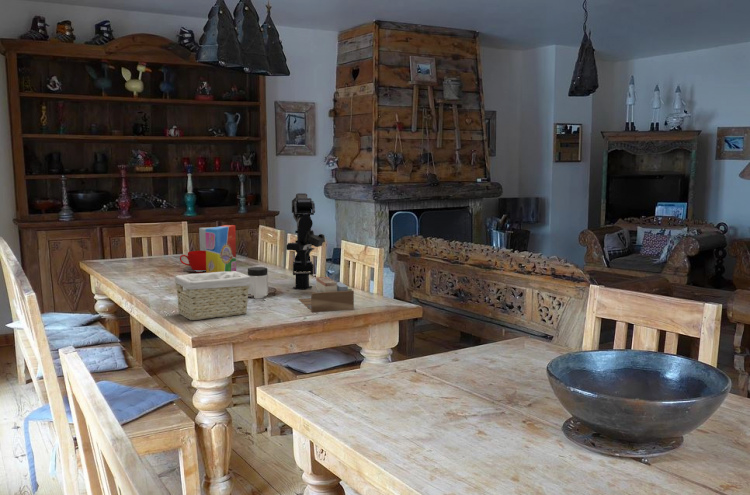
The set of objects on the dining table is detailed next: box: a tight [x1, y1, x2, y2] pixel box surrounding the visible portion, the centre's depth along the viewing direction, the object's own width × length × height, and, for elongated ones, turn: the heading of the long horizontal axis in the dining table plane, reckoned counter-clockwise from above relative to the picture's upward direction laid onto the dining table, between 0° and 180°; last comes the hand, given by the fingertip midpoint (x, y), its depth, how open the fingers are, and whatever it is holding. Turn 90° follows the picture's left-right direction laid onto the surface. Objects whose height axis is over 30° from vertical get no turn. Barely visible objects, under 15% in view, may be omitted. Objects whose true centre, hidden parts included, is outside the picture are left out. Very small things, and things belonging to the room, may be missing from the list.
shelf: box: [297, 289, 355, 313], centre depth 259 cm, size 25×16×8 cm, turn 19°
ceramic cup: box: [179, 250, 206, 271], centre depth 340 cm, size 13×17×10 cm
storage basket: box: [174, 270, 250, 321], centre depth 245 cm, size 24×16×15 cm
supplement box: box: [198, 226, 215, 251], centre depth 390 cm, size 13×13×18 cm
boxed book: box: [315, 276, 337, 292], centre depth 257 cm, size 14×4×10 cm, turn 19°
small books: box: [336, 281, 353, 291], centre depth 256 cm, size 10×5×8 cm, turn 19°
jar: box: [247, 266, 269, 300], centre depth 277 cm, size 9×8×12 cm
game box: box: [205, 224, 237, 273], centre depth 299 cm, size 21×6×27 cm, turn 168°
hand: (304, 265), depth 279 cm, fingers closed
